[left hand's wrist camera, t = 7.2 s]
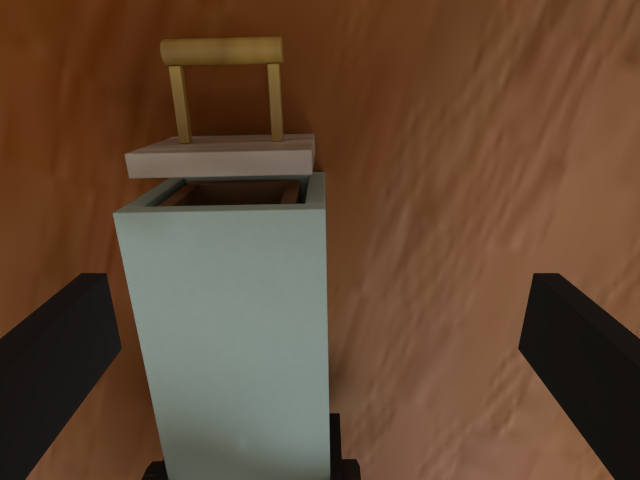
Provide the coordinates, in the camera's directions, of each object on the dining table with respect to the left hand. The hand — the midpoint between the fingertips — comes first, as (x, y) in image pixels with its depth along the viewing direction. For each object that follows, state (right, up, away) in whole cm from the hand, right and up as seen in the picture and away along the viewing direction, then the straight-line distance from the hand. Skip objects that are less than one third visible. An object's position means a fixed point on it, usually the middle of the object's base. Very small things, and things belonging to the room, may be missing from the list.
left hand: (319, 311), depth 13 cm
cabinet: (-4, -3, +18) cm, 19 cm away
